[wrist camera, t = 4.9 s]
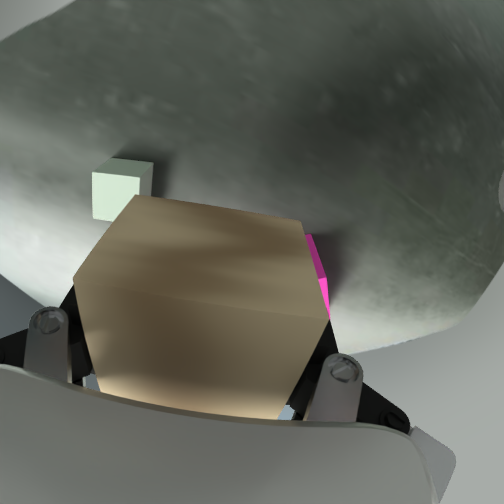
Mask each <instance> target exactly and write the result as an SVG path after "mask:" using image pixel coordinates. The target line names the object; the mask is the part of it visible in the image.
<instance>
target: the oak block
mask: <svg viewBox="0 0 504 504" xmlns="http://www.w3.org/2000/svg"><path fill="white" fill-rule="evenodd" d="M73 282H74V288H75V293H76V298H77V303H78V308H79V313H80V317H81V322H82V326H83V330H84V334H85V338H86V342H87V346H88V350H89V354H90V357H91V361H92V364H93V368H94V371H95V374H96V378H97V381H98V384H99V387H100V390H101V392H103V393H107V394H111V395H115V396H119V397H124V398H128V399H132V400H137V401H142V402H146V403H151V404H156V405H161V406H167V407H172V408H178V409H184V410H191V411H197V412H204V413H212V414H220V415H228V416H238V417H248V418H260V419H275V420H277V418H278V416H279V414H280V413H281V411H282V409H283V408H284V406H285V404H286V402H287V400H288V399H289V397H290V395H291V393H292V391H293V390H294V388H295V386H296V384H297V382H298V380H299V378H300V377H301V375H302V373H303V371H304V369H305V367H306V365H307V363H308V361H309V359H310V357H311V355H312V353H313V351H314V349H315V347H316V345H317V343H318V341H319V339H320V337H321V335H322V333H323V331H324V329H325V327H326V325H327V323H328V321H329V316H328V312H327V308H326V305H325V301H324V298H323V294H322V291H321V287H320V284H319V280H318V277H317V274H316V270H315V267H314V263H313V260H312V257H311V253H310V250H309V247H308V244H307V240H306V237H305V234H304V231H303V228H302V224H301V221H297V220H292V219H286V218H281V217H275V216H270V215H264V214H259V213H253V212H247V211H241V210H235V209H229V208H223V207H217V206H211V205H205V204H198V203H192V202H185V201H179V200H172V199H165V198H158V197H151V196H144V195H137V194H135V195H134V196H133V198H132V199H131V200H130V201H129V203H128V204H127V205H126V206H125V207H124V209H123V210H122V211H121V213H120V214H119V215H118V216H117V218H116V219H115V220H114V221H113V223H112V224H111V225H110V227H109V228H108V229H107V231H106V232H105V233H104V235H103V236H102V237H101V239H100V240H99V241H98V243H97V244H96V245H95V247H94V248H93V249H92V251H91V252H90V254H89V255H88V256H87V258H86V259H85V261H84V262H83V264H82V265H81V266H80V268H79V269H78V271H77V272H76V274H75V275H74V277H73Z"/></svg>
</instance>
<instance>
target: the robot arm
mask: <svg viewBox="0 0 504 504" xmlns="http://www.w3.org/2000/svg"><path fill="white" fill-rule="evenodd" d="M499 203H500V206H501V209H502V211H503V212H504V171H503V173H502V176H501V180H500V185H499ZM327 312H328V311H327ZM328 316H329V315H328ZM90 373H92V374H95V371H94V368H93V364H92V361H91V357H90V354H89V350H88V346H87V342H86V338H85V334H84V330H83V326H82V322H81V317H80V313H79V308H78V303H77V298H76V293H75V288H74V284H73V286H72V288H71V289H70V291H69V292H68V294H67V295H66V297H65V299H64V300H63V302H62V303H61V305H60V307H59V308H58V307H52V306H49V307H44V308H41V309H39V310H38V311H36V312H35V313H34V314H33V315H32V316H31V319H30V321H29V327H28V329H25V330H23V331H20V332H17V333H14V334H12V335H9V336H6V337H4V338H1V339H0V504H439V503H440V501H441V499H442V497H443V495H444V492H445V490H446V488H447V486H448V483H449V481H450V479H451V476H452V474H453V471H454V468H455V465H456V459H455V455H454V453H453V451H451V450H450V449H449V448H448V447H447V446H445V445H443V444H442V443H440V442H439V441H437V440H436V439H434V438H433V437H431V436H430V435H428V434H427V433H425V432H424V431H423V430H421V429H420V428H418V427H417V426H415V427H414V428H412V427H411V426H410V422H409V419H408V417H407V415H406V414H405V413H404V412H403V411H402V410H401V409H399V408H398V407H397V406H395V405H394V404H393V403H391V402H390V401H388V400H387V399H386V398H384V397H383V396H381V395H380V394H379V393H377V392H376V391H374V390H373V389H372V388H370V387H369V386H368V385H366V384H365V383H363V370H362V367H361V365H360V364H359V363H358V361H356V360H355V359H354V358H353V357H351V356H349V355H346V354H342V353H339V352H338V348H337V344H336V341H335V337H334V333H333V329H332V326H331V322H330V318H329V321H328V323H327V325H326V327H325V329H324V331H323V333H322V335H321V337H320V339H319V341H318V343H317V345H316V347H315V349H314V351H313V353H312V355H311V357H310V359H309V361H308V363H307V365H306V367H305V369H304V371H303V373H302V375H301V377H300V378H299V380H298V382H297V384H296V386H295V388H294V390H293V391H292V393H291V395H290V397H289V399H288V400H287V402H286V404H285V405H290V407H291V408H292V409H294V410H295V411H294V414H293V417H292V419H291V420H275V419H260V418H248V417H238V416H228V415H220V414H212V413H204V412H197V411H191V410H184V409H178V408H172V407H167V406H161V405H156V404H151V403H146V402H142V401H137V400H132V399H128V398H124V397H119V396H115V395H111V394H107V393H103V392H100V391H96V390H92V389H89V388H86V384H85V376H88V375H90Z"/></svg>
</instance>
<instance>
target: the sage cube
mask: <svg viewBox="0 0 504 504" xmlns="http://www.w3.org/2000/svg"><path fill="white" fill-rule="evenodd" d="M153 164H154V163H152V162H144V161H135V160H126V159H116V158H110V159H109V160H108V161H106V162H105V163H104V164H102V165H101V166H100V167H98V168H97V169H96V170H94V171H93V172H92V200H93V219H100V220H107V221H114V220H115V219H116V218H117V216H118V215H119V214H120V213H121V211H122V210H123V209H124V207H125V206H126V205H127V204H128V203H129V201H130V200H131V199H132V198H133V196H134V195H135V194H137V195H144V196H151V189H152V176H153Z"/></svg>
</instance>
